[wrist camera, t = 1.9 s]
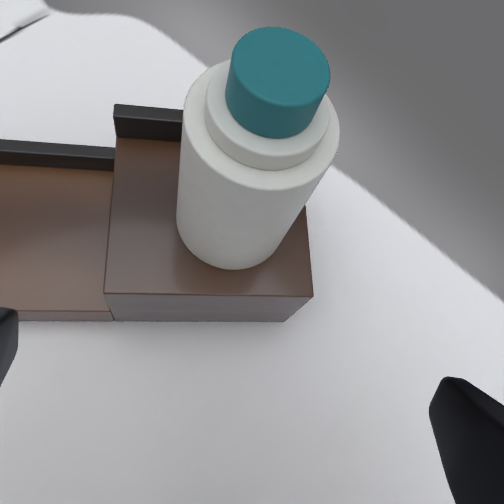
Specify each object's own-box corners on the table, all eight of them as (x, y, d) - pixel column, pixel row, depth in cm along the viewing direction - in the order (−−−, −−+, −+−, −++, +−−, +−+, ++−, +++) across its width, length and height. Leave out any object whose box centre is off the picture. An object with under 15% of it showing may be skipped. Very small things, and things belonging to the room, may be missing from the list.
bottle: (298, 256, 20) (400, 128, 11) (192, 282, 18) (219, 159, 10) (264, 163, 21) (332, -12, 13) (163, 182, 20) (165, 0, 11)
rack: (284, 322, 24) (326, 286, 18) (-115, 320, 20) (-230, 276, 14) (276, 189, 27) (309, 120, 21) (-75, 167, 23) (-157, 78, 17)
